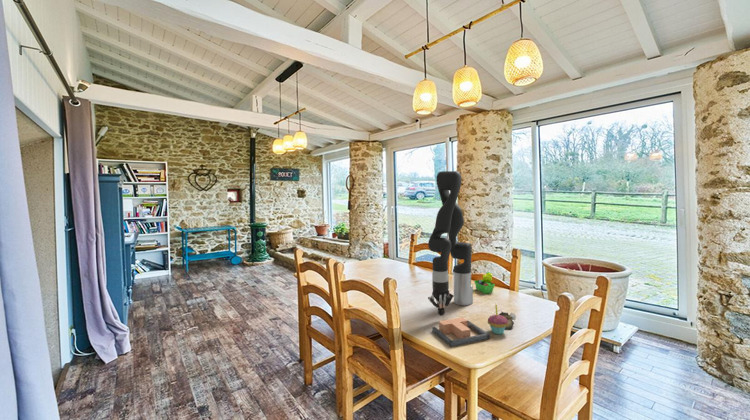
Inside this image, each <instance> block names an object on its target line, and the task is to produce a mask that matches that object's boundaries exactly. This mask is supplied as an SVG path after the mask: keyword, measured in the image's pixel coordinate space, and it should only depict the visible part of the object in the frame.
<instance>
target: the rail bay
mask: <svg viewBox="0 0 750 420" xmlns="http://www.w3.org/2000/svg"><path fill="white" fill-rule="evenodd" d="M467 327H468V328H469V329H470V330H472V331H474V332H475V333H476V334H477V335H472V336H471V337H466V338H461V339H460V338H457V339H451V338H449V336H447V334H443V333H442V332H441V331H440V330H439V328H437V327H436V326H432V328H431V331H432V333H434V334H435V335H436V336H437V337H438V338H440V340H442V341H443V342H444V343H445V344H446V345H448V346H449V347H451V348H453V347H458V346H462V345H463V346H464V345H467V344H473V343H477V342H481V341H487V340H490V338H491V337H490V336H491V335H490V333H488V332H487V331H485V330H483V328H481V327H479V326H478V325H476V324H474V323H473V322H471V321H469V320H467Z"/></svg>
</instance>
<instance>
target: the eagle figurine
mask: <svg viewBox="0 0 750 420" xmlns="http://www.w3.org/2000/svg"><path fill="white" fill-rule="evenodd" d="M498 315H501V316H504V317H505V318H506V319H507V320H508V322H509V325H508V326H507V327H505V330H504V331H506V330H507V331H509V330H512V329H513V327H514V325H515V322H514V321H515V320H516V319H517V316H516V314H515V313H513V312H511V313H510V314H509V313H508V312H504V311H501V312H500V313H499V314H498Z"/></svg>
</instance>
